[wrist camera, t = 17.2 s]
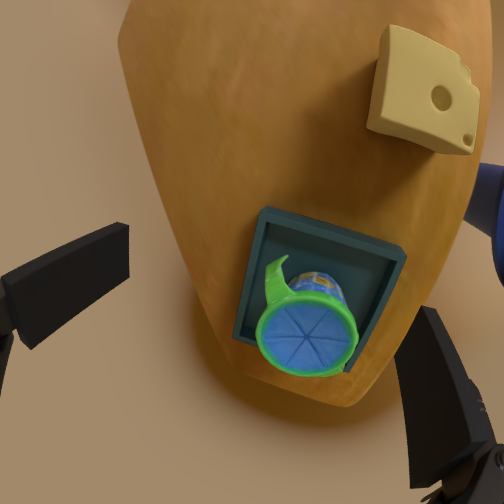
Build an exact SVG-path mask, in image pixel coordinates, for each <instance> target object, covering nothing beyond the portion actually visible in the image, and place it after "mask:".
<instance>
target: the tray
mask: <svg viewBox="0 0 504 504" xmlns="http://www.w3.org/2000/svg"><path fill="white" fill-rule="evenodd" d="M285 255H289V257H288V258H287V259H286V260H285V261H284V262H283V263H282V264H281V268H282V272H283V276H284V280H285V283H286V284H287V285H288V283H289V282H290V281H291V280H292V279H293V278H294V277H296V276H297V275H299V274H301V273H305V272H320V273H327V274H328V275H329V276H330V277H332V278H333V279H334V280H335V281H336V282H337V284H338V285H339V286H340V288H341V291H342V293H343V296H344V298H345V301H346V304H347V307H348V309H349V311H350V312H351V313H352V315H353V317H354V319H355V323H356V327H357V332H358V334H359V339H358V344H357V345H356V347H355V350H354V353H353V354H352V356H351V358H350V359H349V360H348V361H347V362H346V363H345V366H344V369H343V372H347V373H349V372H350V370H351V369H352V367H353V365H354V364H355V362H356V360H357V358H358V357H359V355H360V353H361V351H362V350H363V348H364V346H365V344H366V343H367V341H368V339H369V337H370V335H371V333H372V331H373V330H374V328H375V326H376V324H377V322H378V320H379V318H380V316H381V314H382V312H383V310H384V308H385V306H386V304H387V302H388V299H389V297H390V295H391V293H392V291H393V289H394V286H395V284H396V282H397V280H398V277H399V275H400V273H401V270H402V268H403V265H404V263H405V260H406V258H407V255H406V254H405V252H404V251H403V250H402V248H401V247H400V246H397V245H394V244H391V243H388V242H385V241H382V240H379V239H376V238H373V237H370V236H367V235H364V234H361V233H358V232H355V231H351V230H348V229H345V228H342V227H338V226H335V225H332V224H329V223H325V222H322V221H319V220H315V219H312V218H308V217H305V216H301V215H298V214H294V213H291V212H287V211H284V210H280V209H277V208H273V207H269V206H266V207H264V208H263V209H262V210H261V211H260V212H259V217H258V221H257V226H256V230H255V235H254V239H253V244H252V248H251V253H250V257H249V262H248V266H247V271H246V275H245V280H244V285H243V289H242V294H241V298H240V303H239V307H238V312H237V316H236V321H235V325H234V330H233V335H232V339H235V340H239V341H241V342H244V343H247V344H250V345H253V346H256V347H258V344H257V339H256V336H255V331H256V329H257V324H258V322H259V319H260V317H261V315H262V313H263V311H264V310H265V309H266V307H267V299H266V292H265V272H266V267H267V265H269V264H271V263H272V262H274V261H275V260H277V259H279V258H281V257H283V256H285Z"/></svg>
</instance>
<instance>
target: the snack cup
mask: <svg viewBox="0 0 504 504" xmlns="http://www.w3.org/2000/svg"><path fill="white" fill-rule="evenodd" d="M288 257H289V255H285V256H283V257H281V258H279V259H277V260H275V261H274V262H272V263H271V264H269V265H267V267H266V272H265V292H266V299H267V307H266V309H265V310H264V311H263V313H262V315H261V317H260V319H259V322H258V324H257V329H256V331H255V336H256V339H257V344H258V347H259V349H260V351H261V353H262V355H263V356H264V357H265V358H266V359H267V360H268V362H270V363H271V364H272V365H273V366H275V367H276V368H278V369H280V370H281V371H284V372H286V373H289V374H292V375H296V376H302V377H315V376H321V377H328V376H332V375H335V374H338V373H340V372H342V371H343V369H344V366H345V363H346V362H347V361H348V360H349V359H350V358H351V356H352V354H353V353H354V350H355V347H356V345H357V344H358V339H359V334H358V332H357V327H356V323H355V319H354V317H353V315H352V313H351V312H350V311H349V309H348V307H347V304H346V301H345V298H344V296H343V293H342V291H341V288H340V286H339V285H338V284H337V282H336V281H335V280H334V279H333V278H332V277H330V276H329V275H328V274H327V273H320V272H305V273H301V274H299V275H297V276H296V277H294V278H293V279H292V280H291V281H290V282H289V283H288V285H287V284H286V283H285V280H284V276H283V272H282V268H281V264H282V263H283V262H284V261H285V260H286V259H287V258H288Z"/></svg>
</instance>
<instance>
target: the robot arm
mask: <svg viewBox="0 0 504 504" xmlns="http://www.w3.org/2000/svg"><path fill="white" fill-rule="evenodd" d="M129 277H130V276H129V225H126V224H123V223H119V222H116V223H113V224H111V225H108V226H106V227H104V228H101V229H99V230H96V231H94V232H92V233H89V234H87V235H85V236H83V237H80V238H78V239H76V240H74V241H72V242H69V243H67V244H65V245H63V246H61V247H58V248H56V249H54V250H52V251H50V252H48V253H46V254H44V255H42V256H40V257H38V258H36V259H34V260H32V261H30V262H28V263H26V264H24V265H22V266H20V267H18V268H16V269H14V270H12V271H10V272H8V273H7V274H5V275H3V276H1V279H0V395H1V389H2V384H3V379H4V375H5V370H6V366H7V362H8V358H9V354H10V351H11V346H12V344H13V340H14V335H13V333H12V331H13V330H14V329H17V332H18V335H19V337H20V340H21V341H22V342H23V343H24V344H25V345H26V346H27V347H28V348H29V349H30V350H32V349H33V348H34V347H36V346H37V345H38V344H39V343H41V342H42V341H43V340H45V339H46V338H47V337H48V336H49V335H51V334H52V333H54V332H55V331H56V330H57V329H59V328H60V327H61V326H63V325H64V324H65V323H67V322H68V321H69V320H70V319H72V318H73V317H75V316H76V315H77V314H79V313H80V312H82V311H83V310H84V309H86V308H87V307H88V306H90V305H91V304H93V303H94V302H95V301H96V300H98V299H99V298H101V297H102V296H103V295H105V294H106V293H108V292H109V291H110V290H112V289H114V288H115V287H116V286H118V285H119V284H121V283H122V282H124V281H125V280H126V279H128V278H129ZM394 359H395V364H396V369H397V374H398V379H399V385H400V390H401V397H402V404H403V410H404V418H405V425H406V435H407V445H408V457H409V475H410V489H414V488H428V487H430V486H431V485H433V484H435V483H436V482H438V481H439V480H442V486H441V487H440V488H438V489H437V490H435V491H434V492H432V493H431V494H429V495H427V496H425V497H424V498H423V499H422V500H421V502H424V501H426V500H428V499H429V498H431V499H430V500H429V502H428V503H427V504H504V444H497V442H496V439H495V436H494V432H493V429H492V426H491V423H490V420H489V417H488V414H487V412H485V410H486V408H485V405H484V403H482V397H481V395H480V392H479V390H478V388H477V387H476V386H475V384H474V383H473V382H472V380H471V379H469V378H468V376H467V374H466V371H465V369H464V366H463V364H462V362H461V359H460V357H459V355H458V353H457V351H456V349H455V346H454V344H453V342H452V340H451V338H450V336H449V334H448V332H447V330H446V328H445V326H444V324H443V322H442V320H441V318H440V317H439V315H438V313H437V311H436V309H433V308H429V307H426V306H422V305H421V307H420V309H419V311H418V313H417V315H416V317H415V319H414V321H413V323H412V325H411V326H410V328H409V330H408V332H407V334H406V336H405V338H404V339H403V341H402V343H401V345H400V347H399V348H398V350H397V352H396V353H395V355H394Z"/></svg>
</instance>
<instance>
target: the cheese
mask: <svg viewBox="0 0 504 504" xmlns="http://www.w3.org/2000/svg"><path fill="white" fill-rule="evenodd" d="M479 96H480V95H479V90H478V89H477V87H476V86H474V85H472V84H471V69H470V68H468V67H467V66H466V65H464V64H463V63H462V61H461V58H460V56H458V55H457V54H456V53H455V52H453V51H452V50H450V49H448V48H446V47H444V46H442V45H441V44H439V43H437V42H435V41H433V40H431V39H429V38H427V37H425V36H423V35H421V34H418V33H416V32H414V31H412V30H409V29H406V28H403V27H400V26H396V25H392V24H390V25H388V26H387V28H386V29H385V30H384V32H383V33H382V36H381V39H380V46H379V56H378V59H377V65H376V71H375V76H374V83H373V89H372V96H371V102H370V109H369V114H368V119H367V124H366V128H367V129H369V130H371V131H374V132H377V133H381V134H385V135H390V136H395V137H398V138H401V139H405V140H408V141H411V142H413V143H416V144H419V145H421V146H423V147H426V148H428V149H430V150H433V151H435V152H438V153H442V154H457V155H470V154H472V153H473V149H474V143H475V137H476V130H477V122H478V111H479Z"/></svg>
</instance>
